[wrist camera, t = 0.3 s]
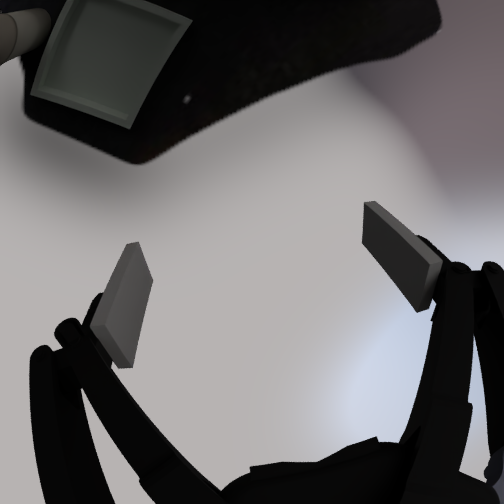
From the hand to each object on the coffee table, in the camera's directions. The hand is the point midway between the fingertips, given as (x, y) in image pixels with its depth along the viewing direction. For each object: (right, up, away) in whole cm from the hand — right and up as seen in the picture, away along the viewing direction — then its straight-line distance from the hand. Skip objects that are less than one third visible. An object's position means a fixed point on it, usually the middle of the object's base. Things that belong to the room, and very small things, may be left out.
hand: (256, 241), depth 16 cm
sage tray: (-18, +25, +10) cm, 32 cm away
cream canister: (-29, +28, +3) cm, 40 cm away
